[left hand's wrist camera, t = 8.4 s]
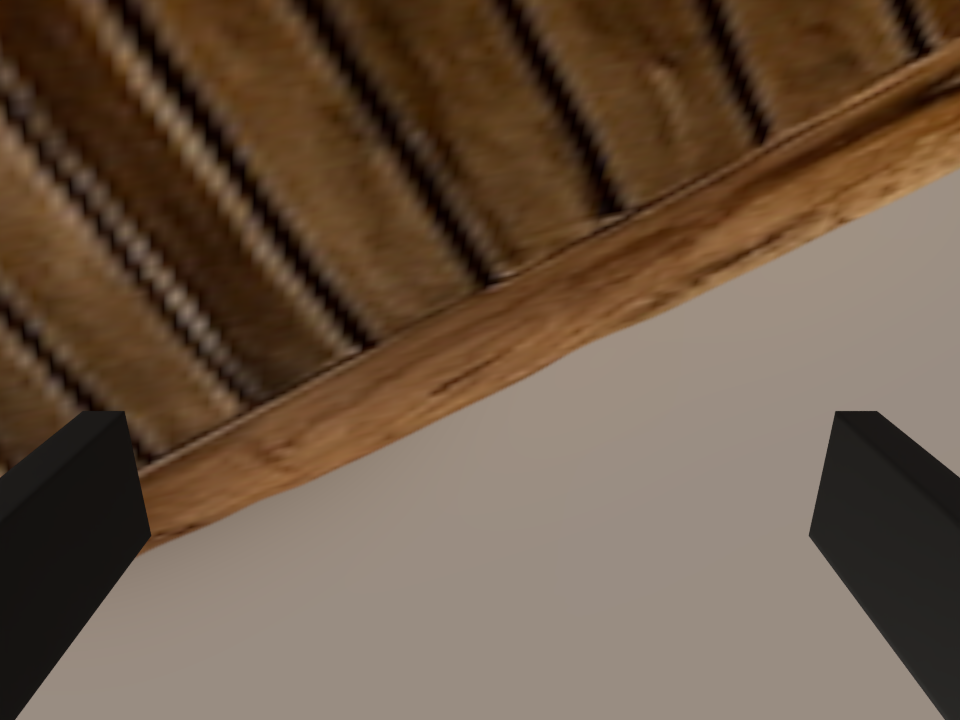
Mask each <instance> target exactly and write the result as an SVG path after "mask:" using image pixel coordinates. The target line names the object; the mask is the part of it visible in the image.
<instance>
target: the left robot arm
mask: <svg viewBox="0 0 960 720" xmlns="http://www.w3.org/2000/svg"><path fill="white" fill-rule="evenodd" d="M150 537H151V532H150V527H149V523H148V518H147V513H146V509H145V504H144V500H143V495H142V490H141V486H140V481H139V476H138V472H137V467H136V462H135V458H134V453H133V448H132V444H131V439H130V435H129V430H128V425H127V421H126V416H125V411H83V412H81V413H80V414H79V415H78V416H76V417H75V418H74V419H73V420H71V421H70V422H69V423H68V424H66V425H65V426H64V427H63V428H61V429H60V430H59V431H58V432H56V433H55V434H54V435H53V436H51V437H50V438H49V439H48V440H47V441H45V442H44V443H43V444H42V445H40V446H39V447H38V448H37V449H35V450H34V451H33V452H32V453H30V454H29V455H28V456H27V457H25V458H24V459H23V460H22V461H20V462H19V463H18V464H17V465H15V466H14V467H13V468H12V469H10V470H9V471H8V472H7V473H6V474H4V475H3V476H2V477H1V478H0V720H15V719H16V718H17V716H18V715H19V714H20V712H21V711H22V710H23V708H24V707H25V706H26V704H27V703H28V702H29V700H30V699H31V697H32V696H33V695H34V693H35V692H36V691H37V689H38V688H39V687H40V685H41V684H42V683H43V681H44V680H45V679H46V677H47V676H48V674H49V673H50V672H51V670H52V669H53V668H54V666H55V665H56V664H57V662H58V661H59V660H60V658H61V657H62V656H63V654H64V653H65V651H66V650H67V649H68V647H69V646H70V645H71V643H72V642H73V641H74V639H75V638H76V637H77V635H78V634H79V633H80V631H81V630H82V628H83V627H84V626H85V625H86V623H87V622H88V620H89V619H90V618H91V616H92V615H93V614H94V612H95V611H96V610H97V608H98V607H99V606H100V604H101V603H102V602H103V600H104V599H105V597H106V596H107V595H108V593H109V592H110V591H111V589H112V588H113V587H114V585H115V584H116V583H117V581H118V580H119V579H120V577H121V576H122V575H123V573H124V572H125V570H126V569H127V568H128V566H129V565H130V564H131V562H132V561H133V560H134V558H135V557H136V556H137V554H138V553H139V552H140V550H141V549H142V547H143V546H144V545H145V543H146V542H147V541H148V539H149V538H150ZM809 537H810V538H811V539H812V541H813V542H814V543H815V545H816V546H817V547H818V549H819V550H820V552H821V553H822V554H823V555H824V557H825V558H826V560H827V561H828V562H829V564H830V565H831V566H832V568H833V569H834V570H835V572H836V573H837V574H838V576H839V577H840V578H841V580H842V581H843V583H844V584H845V585H846V587H847V588H848V589H849V591H850V592H851V593H852V595H853V596H854V597H855V599H856V600H857V602H858V603H859V604H860V606H861V607H862V608H863V610H864V611H865V612H866V614H867V615H868V616H869V618H870V619H871V620H872V622H873V623H874V624H875V626H876V627H877V629H878V630H879V631H880V633H881V634H882V635H883V637H884V638H885V639H886V641H887V642H888V643H889V645H890V646H891V647H892V649H893V650H894V652H895V653H896V654H897V656H898V657H899V658H900V660H901V661H902V662H903V664H904V665H905V666H906V668H907V669H908V670H909V672H910V673H911V674H912V676H913V677H914V679H915V680H916V681H917V683H918V684H919V685H920V687H921V688H922V689H923V691H924V692H925V693H926V695H927V696H928V697H929V699H930V700H931V702H932V703H933V704H934V705H935V707H936V708H937V710H938V711H939V712H940V714H941V715H942V716H943V718H944V719H945V720H960V478H959V477H958V476H957V475H956V474H954V473H953V472H952V471H951V470H949V469H948V468H947V467H946V466H945V465H943V464H942V463H941V462H940V461H938V460H937V459H936V458H935V457H933V456H932V455H931V454H930V453H928V452H927V451H926V450H925V449H923V448H922V447H921V446H920V445H918V444H917V443H916V442H915V441H913V440H912V439H911V438H910V437H908V436H907V435H906V434H905V433H904V432H902V431H901V430H900V429H899V428H897V427H896V426H895V425H894V424H892V423H891V422H890V421H889V420H887V419H886V418H885V417H884V416H882V415H881V414H880V413H879V412H877V411H836V412H835V416H834V421H833V425H832V430H831V435H830V439H829V444H828V448H827V453H826V458H825V462H824V467H823V472H822V476H821V481H820V486H819V490H818V495H817V500H816V504H815V509H814V513H813V518H812V523H811V527H810V532H809Z"/></svg>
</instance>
